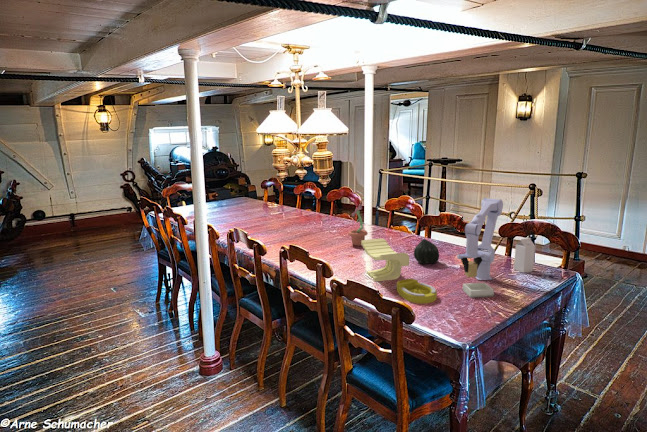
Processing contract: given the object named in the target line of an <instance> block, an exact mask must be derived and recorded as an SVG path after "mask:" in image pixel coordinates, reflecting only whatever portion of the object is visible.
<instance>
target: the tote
mask: <svg viewBox="0 0 647 432" xmlns="http://www.w3.org/2000/svg"><path fill="white" fill-rule="evenodd" d="M462 291H463V292H464V293H465V294H466V295H467V296H468V297H469V298H489V297H491V298H492V297H495V289H494V288H492V287H491V285H489V284H487V283H486V282H473V283H471V282H470V283H462Z"/></svg>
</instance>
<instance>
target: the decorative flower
mask: <svg viewBox="0 0 647 432" xmlns="http://www.w3.org/2000/svg"><path fill="white" fill-rule="evenodd" d="M362 209H363V205H362V203H359V205H358V206H357V207H356V208H355V210H354V211H353V212H352V213H351V217H355V215H357V217H358V218H357V219H356V223H358V222H359V228H358V229H351V230H349V231H348V232H347V234H348V236H349V237H351V244H352V245H353V246H357V247H358V246H359V247H360V246H362V245H361V240H366V238H365V237H366V236H367V235H369V234H368V231H367V230H365V229H364V226H363V225H365V222H363V218H362V216H361V214H360V213H361V211H360V210H362Z"/></svg>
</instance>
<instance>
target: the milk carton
mask: <svg viewBox="0 0 647 432" xmlns="http://www.w3.org/2000/svg"><path fill="white" fill-rule="evenodd" d="M514 248H515V250H514V251H515V252H514V262H513V270H515V271H517V272H518V271H519V272H521V273H523V274H525V273H529V272H530V273H531V272H533V271H534V263H535V262H534V261H535V251H536V245H535V244H534V242H533V241H532V238H531V237H527V238H521V239H520V241H519V242H517V243H516V244H515V247H514Z"/></svg>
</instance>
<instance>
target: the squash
mask: <svg viewBox="0 0 647 432" xmlns="http://www.w3.org/2000/svg"><path fill="white" fill-rule="evenodd" d="M413 256H414V258H415V260H416V261H417V262H418V263H420V264H423V265H425V264H428V263H429V264H436V263H437V262H438V261H439V258H440V252H439V248H438V247H437V246H436V244H434V243H432V242H431V241H430V240H428V239H425V238H424V239H422V240H421V241H420V242H419V243H418V244H417V245H416V246H415V248H414V250H413Z"/></svg>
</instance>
